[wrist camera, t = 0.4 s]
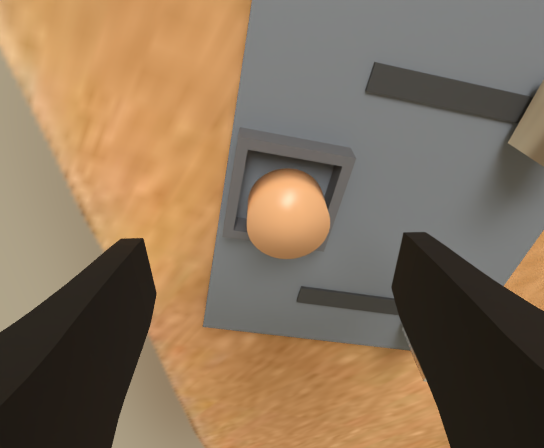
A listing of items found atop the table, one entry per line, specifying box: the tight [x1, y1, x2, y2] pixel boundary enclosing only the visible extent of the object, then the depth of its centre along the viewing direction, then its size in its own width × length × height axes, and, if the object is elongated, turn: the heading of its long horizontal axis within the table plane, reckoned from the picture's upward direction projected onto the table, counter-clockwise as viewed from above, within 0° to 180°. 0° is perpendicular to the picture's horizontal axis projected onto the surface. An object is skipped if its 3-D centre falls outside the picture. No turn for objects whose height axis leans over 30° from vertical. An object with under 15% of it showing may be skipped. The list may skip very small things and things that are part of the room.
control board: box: [203, 0, 544, 351], centre depth 20 cm, size 18×22×3 cm
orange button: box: [247, 168, 330, 259], centre depth 17 cm, size 4×4×2 cm
